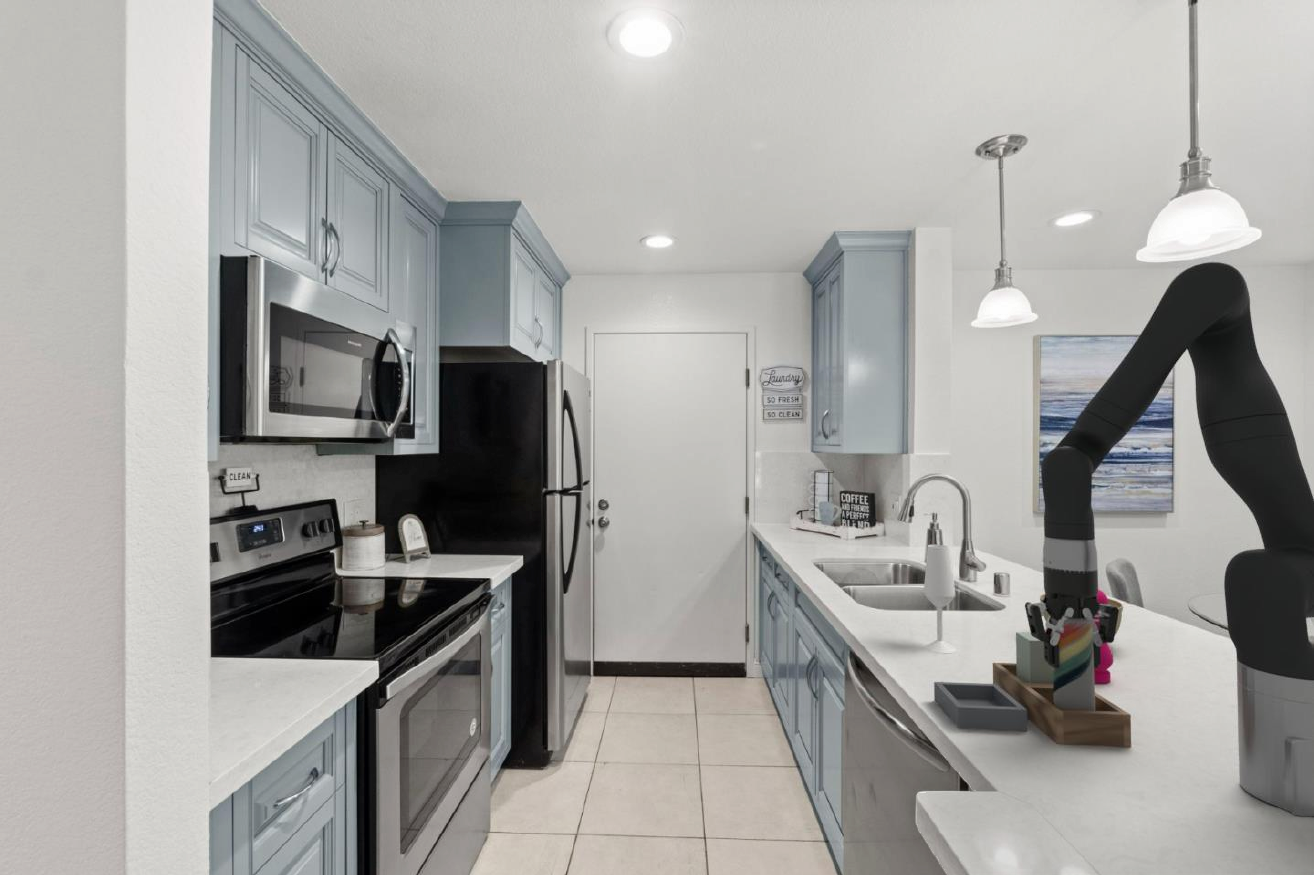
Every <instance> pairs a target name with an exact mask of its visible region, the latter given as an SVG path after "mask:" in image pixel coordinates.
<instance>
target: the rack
mask: <svg viewBox="0 0 1314 875" xmlns="http://www.w3.org/2000/svg"><path fill="white" fill-rule="evenodd" d="M992 684H997V685H998V686H999V687H1000V688H1001V689H1003V690H1004V691H1005V692H1006V693H1007V694H1009V695H1010V696H1011V697H1012V698H1013V699H1015V700H1016V701H1017V702H1018V703H1019V704H1021V705H1022V706H1023V707H1024V708H1025V709H1027V720H1029V721H1030V722H1031V723H1032V724H1033V725H1035V726H1036V727H1037V728H1039V729H1040V730H1041V731H1042V732H1043V733H1044V734H1045V735H1046V736H1048V737H1049V738H1050V739H1051V740H1052V741H1053V742H1054V743H1056V744H1057V745H1060V744H1061V745H1079V746H1081V745H1082V746H1083V745H1084V746H1099V747H1100V746H1104V747H1105V746H1106V747H1122V748H1123V747H1125V748H1127V747H1128V748H1132V721H1131V720H1132V719H1131V718H1132V716H1131V714H1130V713H1129V712H1127V711H1126V710H1124V709H1123V708H1121V707H1119V706H1118V705H1116V704H1114V703H1113V702H1111V701H1109V700H1108V699H1106V698H1105V697H1104V696H1102V695H1100V694H1099V693H1097V692H1096V691H1095V711H1085V710H1060V709H1058V708H1057V707H1056V706H1055V704H1054V694H1053V684H1043V683H1024V682H1023V681H1021V680H1020V679H1019V678H1017V669H1016V662H1015V663H1013V662H1012V663H1010V662H1007V663H1005V662H992Z"/></svg>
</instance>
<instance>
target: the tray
mask: <svg viewBox="0 0 1314 875" xmlns="http://www.w3.org/2000/svg"><path fill="white" fill-rule="evenodd" d="M933 684H934V685H933V687H934V688H933V689H934V690H933V692H934V693H933V694H934V697H933V698H934V702H935V704H936V705H937V706H938V707H939V708H940V709H941V710H942V711H943V713H945V715H946V716H947V717H948V718H949V719H950V720H951V722H952V723H953V724H954V725H955V726H956V727H957V729H965V730H966V729H967V730H968V729H969V730H993V731H1010V732H1011V731H1013V732H1014V731H1017V732H1028V718H1027V709H1025V708H1024V707H1023V706H1022V705H1021V704H1019V703H1018V702H1017V701H1016V700H1015V699H1013V698H1012V697H1011V696H1010V695H1009V694H1007V693H1006V692H1005V691H1004V690H1003V689H1001V688H1000V687H999V686H998V685H997V684H993V683H977V682H976V683H975V682H973V683H971V682H949V681H947V682H944V681H934V682H933Z"/></svg>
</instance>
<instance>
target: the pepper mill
mask: <svg viewBox="0 0 1314 875" xmlns="http://www.w3.org/2000/svg"><path fill="white" fill-rule="evenodd" d="M1108 599H1109V598H1108V597H1107V595H1106V593H1104V592H1103V591H1102V590H1100V589H1099V588H1098V595H1097V600H1098V602H1099V604H1108ZM1099 618H1100V615H1099V613H1098V612H1097V614H1096V615H1095V616H1094V618H1093V620H1094V622H1095V624H1096V626H1097V628H1098V624H1099ZM1100 649H1101V663H1100V665H1098V669H1094V682H1095V684H1104V685H1105V684H1109V683H1110V682H1111V672H1110V671H1109V670H1108V669H1109V668H1110V667H1112V666H1113V664H1114V655H1113V653H1112V650H1111V648H1110V645H1109V643H1108V644H1107V643H1104V644H1102V646H1101V647H1100Z"/></svg>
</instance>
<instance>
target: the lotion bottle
mask: <svg viewBox="0 0 1314 875" xmlns="http://www.w3.org/2000/svg"><path fill="white" fill-rule="evenodd" d="M1065 606H1066V607H1070V608H1072V609H1073V610H1074V613H1073V616H1072V618H1071V619H1068V620H1064V632H1063V633H1062V634H1060V639H1059V641H1058V643H1057V645H1058V646H1059V668H1053V694H1054V704H1055V706H1056V707H1057V708H1058V709H1060V710H1085V711H1095V692H1096V691H1095V690H1096V689H1095V686H1096V685H1095V684H1096V683H1095V682H1094V651H1093V626H1092V621H1091V620H1085V619H1084V618H1082V617H1083V614H1082V609H1083V608H1084V607H1085V598H1075V597H1065ZM1051 621H1052V624H1053V625H1055V626H1056V625H1057V624H1058V621H1059V620H1055V619H1052V618H1051ZM1062 627H1063V625H1062ZM1052 631H1053V630H1052Z"/></svg>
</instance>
